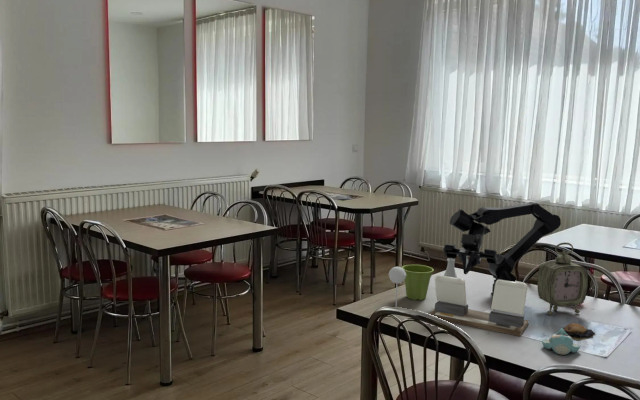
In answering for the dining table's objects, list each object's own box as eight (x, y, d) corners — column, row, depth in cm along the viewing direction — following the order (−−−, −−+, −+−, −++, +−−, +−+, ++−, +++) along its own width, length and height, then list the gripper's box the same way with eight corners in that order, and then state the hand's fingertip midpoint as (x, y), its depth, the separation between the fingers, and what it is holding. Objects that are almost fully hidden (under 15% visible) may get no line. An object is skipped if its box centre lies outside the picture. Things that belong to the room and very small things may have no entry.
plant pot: (429, 304, 210) (430, 273, 209) (397, 300, 214) (398, 270, 213) (434, 294, 221) (436, 266, 220) (404, 291, 225) (405, 263, 224)
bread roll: (578, 343, 177) (579, 331, 177) (554, 334, 185) (555, 323, 184) (599, 336, 183) (600, 325, 182) (575, 328, 190) (576, 317, 189)
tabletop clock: (547, 317, 198) (553, 245, 195) (532, 308, 207) (537, 240, 203) (585, 315, 201) (591, 244, 198) (568, 306, 210) (574, 239, 206)
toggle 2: (492, 309, 192) (497, 279, 194) (523, 315, 186) (528, 284, 189) (490, 308, 190) (495, 278, 192) (522, 314, 185) (527, 283, 187)
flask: (460, 286, 234) (461, 261, 232) (442, 285, 234) (443, 261, 232) (456, 281, 241) (458, 257, 239) (439, 280, 241) (440, 257, 240)
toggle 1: (438, 297, 201) (436, 273, 196) (466, 303, 195) (465, 278, 191) (436, 301, 199) (434, 276, 195) (465, 306, 194) (463, 281, 190)
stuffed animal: (579, 327, 175) (583, 333, 163) (578, 351, 174) (582, 359, 163) (541, 322, 178) (543, 328, 167) (540, 345, 178) (541, 353, 166)
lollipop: (406, 306, 207) (408, 266, 205) (402, 311, 202) (403, 269, 199) (390, 304, 209) (391, 263, 207) (385, 309, 204) (386, 267, 202)
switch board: (440, 308, 206) (441, 296, 206) (528, 324, 191) (529, 312, 190) (428, 317, 196) (429, 305, 195) (520, 336, 181) (520, 323, 180)
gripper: (446, 222, 213) (435, 257, 205) (497, 227, 204) (488, 265, 196) (451, 239, 221) (441, 274, 213) (501, 245, 212) (492, 282, 204)
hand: (464, 273), depth 206 cm, fingers closed
